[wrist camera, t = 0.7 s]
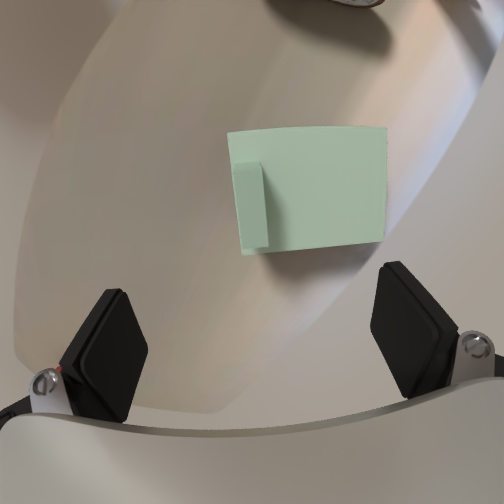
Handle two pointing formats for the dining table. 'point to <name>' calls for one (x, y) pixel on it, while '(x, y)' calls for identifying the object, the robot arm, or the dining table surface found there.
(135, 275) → the dining table surface
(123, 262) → the dining table surface
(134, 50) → the dining table surface
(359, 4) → the tin
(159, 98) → the dining table surface
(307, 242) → the lid
